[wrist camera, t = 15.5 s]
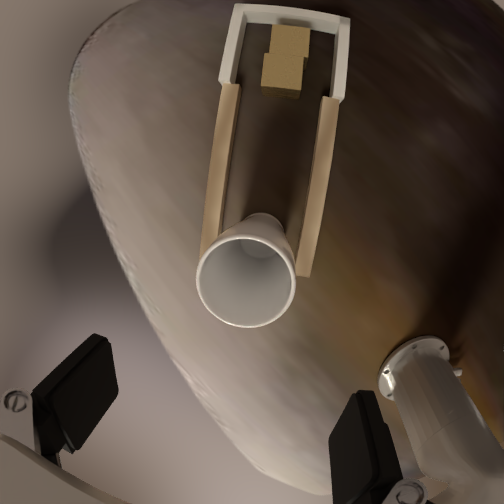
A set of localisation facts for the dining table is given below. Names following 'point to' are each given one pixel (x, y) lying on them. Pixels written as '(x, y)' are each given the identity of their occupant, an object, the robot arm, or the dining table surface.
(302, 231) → the channel
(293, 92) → the wooden cube
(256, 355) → the dining table surface
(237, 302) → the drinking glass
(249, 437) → the dining table surface
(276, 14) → the u-shaped frame
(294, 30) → the tan cube
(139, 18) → the dining table surface
